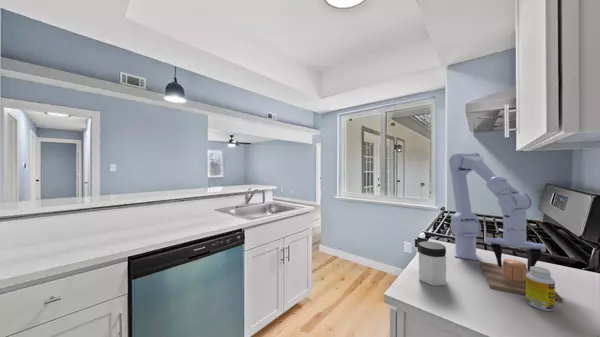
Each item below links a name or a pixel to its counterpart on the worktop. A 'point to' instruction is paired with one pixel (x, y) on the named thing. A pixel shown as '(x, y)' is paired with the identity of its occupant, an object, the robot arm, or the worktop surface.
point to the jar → (432, 263)
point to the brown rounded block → (514, 270)
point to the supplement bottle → (540, 288)
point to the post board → (505, 280)
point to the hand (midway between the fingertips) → (514, 268)
